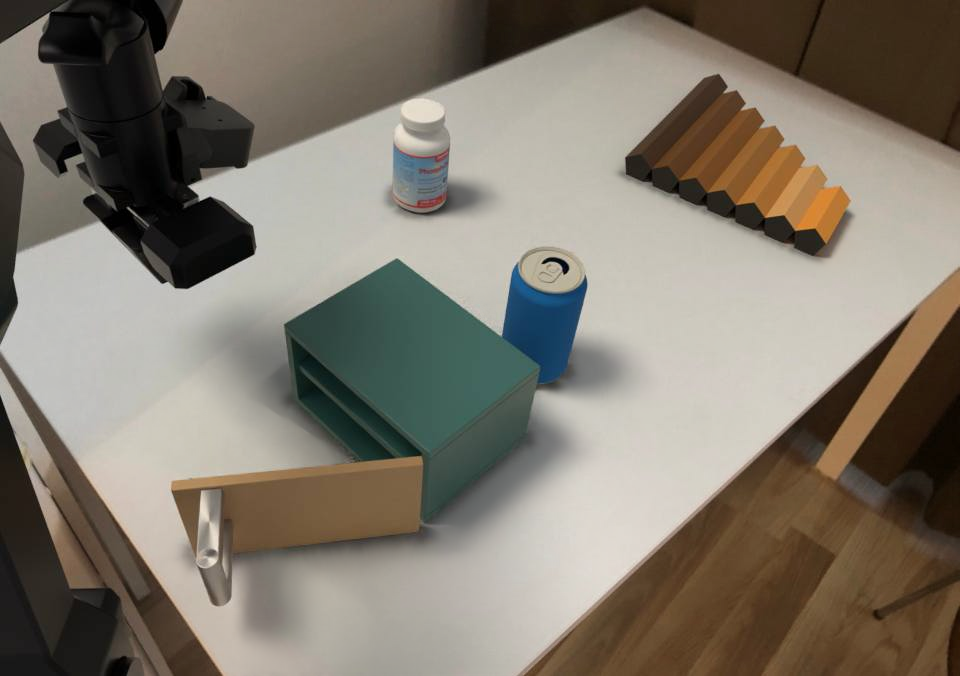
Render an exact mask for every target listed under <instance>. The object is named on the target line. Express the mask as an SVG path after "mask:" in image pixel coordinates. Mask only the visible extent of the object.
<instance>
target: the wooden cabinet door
mask: <svg viewBox="0 0 960 676" xmlns="http://www.w3.org/2000/svg"><path fill="white" fill-rule="evenodd" d="M422 476H423V460H422V456H416V457H406V458H396V459H386V460H376V461H366V462H359V461H355V462H346V463H337V464H336V463H335V464H327V465H316V466H307V467H306V466H305V467H297V468H287V469H275V470H267V471H266V470H265V471H257V472H255V471H254V472H247V473H237V474H235V473H234V474H226V475H216V476H207V477H196V478H185V479H177V480H176V479H175V480H172V481H171V484H170V486H171V487H170V493H171V495H172V497H173V500H174V503H175V505H176V508H177V511H178V513H179V516H180V518H181V523H182V525H183V527H184V530H185V533H186V536H187V538H188V541H189V543H190V546H191V549H192V553H193V555H194V557H195V563H196V567H197V570H198V572H199V574H200V577H201V580H202V582H203V585H204V588H205V591H206V594H207V597H208V599H209V602H210V603H211V604H212V605H213V606H215V607H223V606H225V605H228V603H229V602H230V601H231V599H232V594H233V593H232V592H233V562H234V561H233V560H234V559H233V558H234V554H239V553H240V554H241V553H247V552H256V551H264V550H274V549H281V548H290V547H291V548H292V547H298V546H307V545H316V544H324V543H325V544H326V543H333V542H341V541H349V540H359V539H368V538H374V537H385V536H394V535H400V534H410V533H418V532H419V531H420V523H421V522H420V521H421V519H420V508H421V492H422Z"/></svg>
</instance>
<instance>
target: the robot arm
mask: <svg viewBox="0 0 960 676" xmlns="http://www.w3.org/2000/svg"><path fill="white" fill-rule="evenodd" d="M183 1H184V0H0V45H1V44H3V43H4V42H5V41H7V40H8V39H10V38H12V37H14V36H15V35H17V34H18V33H19V32H21V31H23V30H25V29H26V28H28V27H29V26H31V25H32V24H34V23H36V22H38V21H39V20H40V19H42V18H44V17H45V16H46V15H48V18H47V19H46V20H45V22H44V23H43V25H42V27H41V32H42V34H41V36H40V38H39V40H38V43H37V45H38V46H37V58H38V60H39V62H40V63H41V64H45V65H52V67H53V69H54V72H55V75H56V79H57V81H58V84H59V88H60V90H61V93H62V96H63V99H64V102H65V105H66V107H63V108H60V109H57V114H58V118H57V119H53V120H51V121H49V122H46V123H42V124H41V125H40V126H39V128H38V130H37V132H36V133H35V135H34V137H33V139H32V143H33V145H34V148H35V151H36V153H37V156H38V159H39V161H40V163H41V164H42V165H43V166H45V168H46V169H48V171H49V172H51V173H52V174H53V175H54V176H55V177H56V178H57V179H60V178H63V177H65V176H67V174H68V173H69V169H68V167H67V164H66V160H69V159H71V158H74V157H76V156H79V155H82V157H83V159H84V160H83V161H82V162H80V163H77V164H75V167H76V170H77V174H78V176H79V178H80V179H81V180H82V181H83V182H84V184H86V185H87V186H88V187H89V188H90V191H91V194H89V195H87V196H85V197H84V198H83V199H82V204H83V206H84V208H86V209H87V210H88V211H89V212H90V213H91V214H92V215H93V216H94V217H95V218H96V219H97V220H98V221H99V222H100V223H101V224H102V225H103V227H104V228H106V229H107V231H108V232H109V233H110V234H112V236H113V237H114V238H115V239H116V240H117V241H118V242H119V243H120V244H121V245H122V246H123V247H124V248H126V250H127V251H128V252H129V253H130V254H131V255H132V256H133V257H134V258H135V259H136V260H137V261H138V262H139V263H140V264H141V265H142V266H143V267H144V269H146V270H147V271H148V273H150V274H151V275H152V276H153V278H154V279H156V281H158V282H159V283H160V284H161V285H165V284H166V283H168V284H170V285H171V286H172V287H173V288H174V289H177V290H189V289H191V288H193V287H195V286H197V285H199V284H200V283H203V282H205V281H206V280H208V279H211V278H213V277H214V276H216V275H218V274H220V273H222V272H224V271H226V270H228V269H230V268H231V267H233V266H235V265H238V264H239V263H242V262H243V261H246V260H247V259H249V258H251V257H253V256H255V255H256V250H257V242H256V234H255V229H254V225H253V224H251V222H249V221H248V220H247V219H245V218H244V217H243V215H241V214H239V213H238V212H237V211H236V210H235V209H233V208H232V207H231V206H230V205H228V203H226V202H225V201H223V200H220V199H217V198H216V197H213V196H207V197H206V198H203V199H201V200H200V196H199V194H198V193H197V192H195V191H194V190H193V189H192V188H191V187H190V186H191V185H193V184H195V183H198V182H201V181H202V180H203V176H202V172H201V169H202V170H203V169H206V170H207V169H221V168H232V167H234V168H235V169H237V170H239V169H245V168H246V167H248V165H249V161H250V160H249V159H250V155H251V149H252V144H253V137H254V134H255V133H254V131H255V124H254V123H253V122H252V121H251V120H250V119H249V118H247V117H246V116H244V115H243V114H242V113H240V112H239V111H237V110H236V109H235V108H233V107H232V106H231V105H229V104H227V103H226V102H223V101H220V100H217V99H216V98H215V97H213V96H212V95H207V96H206V94H205V90H204V88H203V87H202V85H200V84H199V83H198V82H196V81H195V80H194V79H192V78H191V77H189V76H187V75H186V76H185V75H172V76H171V77H170V78H169V80H168V81H167V83H166V85H165V86H164V88H163V86H162V82H161V78H160V72H159V68H158V63H157V59H156V54H158V52H161V51H163V50H164V47H165V46H166V44H167V41H168V39H169V36H170V34H171V31H172V29H173V26H174V25H175V22H176V20H177V17H178V15H179V12H180V9H181V7H182V5H183ZM24 184H25V169H24V164H23V162H22V160H21V157H20V156H19V154H18V152H17V150H16V149H15V146H14V145H13V143H12V141H11V139H10V137H9V135H8V133H7V131H6V129H5V128H4V126H3V124H2V123H1V121H0V346H1V345H2V342H3V340H4V338H5V335H6V333H7V331H8V329H9V327H10V325H11V322H12V320H13V318H14V315H15V313H16V311H17V309H18V305H19V297H18V292H17V289H16V288H17V287H16V284H15V279H14V276H15V270H16V262H17V253H18V242H19V232H20V222H21V215H22V214H21V213H22V203H23V193H24ZM19 445H20V444H19V443H18V440H17V437H16V434H15V432H14V429H13V426H12V423H11V421H10V418H9V414H8V413H7V409H6V406H5V404H4V401H3V399H2V395H1V394H0V676H146V675H145V670H144V665H143V662H142V660H141V657H139V656H135V651H134V647H133V644H132V642H131V640H130V638H131V636H132V633H133V629H132V628H131V627H130V626H129V625H128V624H127V621H126V618H125V614H124V609H123V605H122V600H121V597H120V596H119V595H118V594H117V592H115V590H114V589H113V588H112V587H74V588H72V587H70V584H69V581H68V578H67V576H66V573H65V570H64V567H63V564H62V562H61V560H60V556H59V553H58V551H57V548H56V545H55V542H54V541H53V540H54V539H53V537H52V533H51V532H50V529H49V526H48V523H47V521H46V518H45V515H44V511H43V508H42V507H41V504H40V501H39V498H38V495H37V493H36V490H35V487H34V484H33V482H32V479H31V476H30V473H29V470H28V468H27V465H26V462H25V459H24V456H23V454H22V452H21V451H22V450H21V449H20V446H19Z"/></svg>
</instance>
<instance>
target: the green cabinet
mask: <svg viewBox="0 0 960 676" xmlns="http://www.w3.org/2000/svg"><path fill="white" fill-rule="evenodd" d="M283 329H284V338H285V346H286V353H287V360H288V369H289V375H290V383H291V389H292V390H291V391H292V397H293V400H294V402H295V403H296V404H298V405H299V406H300V407H301V408H302V409H303V410H304V411H305V412H306V413H307V414H308V415H309V416H311V417H312V418H313V420H314V421H316V423H318V424H319V425H320V426H321V427H322V428H323V429H324V430H325V431H326V432H327V433H329V434H330V435H331V437H332V438H334V439H335V440H336V441H337V442H338V443H339V444H340V445H341V446H342V447H343V448H345V450H347V451H348V452H349V454H351V455H352V456H353V458H355V459H356V460H357V462H366V461H376V460H386V459H396V458H406V457H416V456H422V460H423V476H422V492H421V508H420V521H422V522H423V523H426V522H428V520H430V519H431V518H433V516H435V515H436V514H437V513H438V512H439V511H441V510H443V508H444V507H445V506H446V505H447V504H449V503H450V502H451V501H453V500H454V499H455V498H456V497H458V496H459V494H460V493H462V492H463V491H464V490H465V489H467V488H468V487H469V486H470V485H471V484H473V482H475V481H476V480H477V479H478V478H480V477H481V476H482V475H483V474H484V473H486V472H487V471H488V470H489V469H491V467H493V466H494V465H495V464H496V463H498V462H499V461H500V460H501V459H502V458H503V457H504V456H505V455H507V454H508V453H509V452H510V451H512V450H513V449H515V447H516V446H517V445H519V444H520V443H521V442H522V441H524V439H526V435H527V431H528V426H529V421H530V418H531V412H532V407H533V404H534V400H535V399H534V398H535V394H536V389H537V385H538V384H537V381H538V377H539V372H540V365H538V364H537V363H536V362H534V361H533V360H532V359H530V358H529V357H528V356H526V355H525V354H524V353H522V352H521V351H520V350H518V349H517V348H516V347H514V346H513V345H512V344H510V343H509V342H508V341H506V340H505V339H504V338H502V335H500V334H499V333H497V332H496V331H494V330H493V329H492V328H490V327H489V326H488V325H486V324H485V323H484V322H483V321H481V320H480V319H479V318H478V317H476V316H475V315H473V314H472V313H471V312H469V311H468V310H467V309H465V308H464V307H463V306H461V305H460V304H459V303H458V302H456V301H455V300H453V299H452V298H451V297H450V296H448V295H447V294H446V293H444V292H443V291H442V290H440V289H439V288H438V287H437V286H435V285H434V284H432V283H431V282H429V281H428V280H427V279H426V278H424V277H423V276H422V275H420V274H419V273H417V272H416V271H415V270H414V269H413V268H411V267H410V266H408V265H407V264H406V263H404V262H403V261H402V260H401V259H399V257H396V258H394V259H393V260H391V261H389V262H387V263H386V264H384V265H383V266H381V267H379V268H377V269H376V270H374V271H371V272H370V273H369V274H367V275H365V276H364V277H362V278H360V279H359V280H357V281H355V282H353V283H352V284H350V285H348V286H346V287H345V288H342V289H341V290H339V291H338V292H336V293H335V294H333V295H331V296H329V297H327V298H326V299H324V300H322V301H321V302H319V303H317V304H316V305H315V306H313V307H311V308H309V309H307V310H306V311H303V312H302V313H299V315H297V316H295V317H293V318H291V319H290V320H288V321H287V322H285V323H283Z"/></svg>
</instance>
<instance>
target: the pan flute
mask: <svg viewBox="0 0 960 676" xmlns="http://www.w3.org/2000/svg"><path fill="white" fill-rule="evenodd" d="M728 88H729V86H728V84H727V82H726V81H725V80H724V78H723V77H722V75H721V74H720V73H716V74H712V75H709V76H705V77H704V78H702V79H701V80H700V81H699V82H698V83H697V84H696V85H695V86H694V87H693V88H692V89H691V90H690V91H689V93H687V95H685V97H683V98H682V100H680V101H679V103H678V104H676V105H675V106H674V107H673V109H671V111H669V113H668V114H666V115H665V116H664V117H663V118H662V119H661V120H660V121H659V123H658V124H657V125H656V126H655V127H653V128H652V130H651V131H650V132H649V133H648V134H647V135H646V136H645V137H644V138H642V140H640V142H639V143H638V144H637V145H636V146H635V147H634V148H633V149H632V150H631V151H630V152H629V153H627V155H626V156H625V157H624V162H625V175H627V176H630V177H632V178H634V179H637V180H639V181H641V182H643V181H644V180H645V179H647V177H648V176H649V175H650V174H651V184H652V187H655V188H657V189H659V190H662V191H663V192H666V193H668V194H670V192H671V191H673V189H674V188H675V187H676V186H677V185H678V194H679V195H678V196H679V198H680V199H682V200H684V201H687V202H689V203H691V204H693V205H695V206H696V205H698V204H699V203H700V201H701V200H702V199H703V198H704V197H705V196H706V210H707V211H709V212H712V213H714V214H716V215H719V216H721V217H723V218H725V217H726V216H727V215H728V214H729V213H730V212H731V211H732V210H733V208H735V214H734V215H735V216H734V221H735V223H737V224H739V225H742V226H744V227H746V228H749V229H751V230H754V229H755V228H757V226H759V225H760V224H761V223H762V222H763V220H764V235H765V236H767V237H769V238H770V239H774V240H775V241H778V242H781V243H784V242H785V241H786V240H787V239H788V238H789V237H791V236H792V234H793V233H794V242H793V244H794V246H793V248H794V249H796V250H799V251H801V252H803V253H806V254H808V255H809V256H813V257H814V255H816V254H817V253H818V252H819V251H821V249H823V248H824V247H825V246H826V245H827V243H828V242H829V240H830V239H831V237H832V236H833V233H834V231H835V230H836V228H837V226H838V225H839V223H840V221H841V219H842V217H843V215H844V214H845V212H846V210H847V208H848V207H849V205H850V203H851V202H852V200H851V199H850V198H849V195H848V194H847V193H846V191H845V190H844V188H843V187H842V185H836V186H830V187H825V188H824V186H825V184H826V182H827V181H828V178H827V176H826V175H825V173H824V172H823V170H822V169H821V167H820V165H819V164H813V165H808V166H803V167H801V166H802V165H803V163H804V162H805V160H806V157H805V155H804V154H803V153H802V151H801V150H800V148H799V147H798V146H797V144H790V145H786V146H781V145H782V144H783V142H784V141H785V139H786V138H784V135H782V133H781V132H780V131H779V129H778V127H777V126H776V125H771V126H766V127H761V126H762V125H763V124H764V123H765V118H764V117H763V115H761V113H760V112H759V111H758V108H756V107H750V108H746V109H743V108H744V107H745V105H746V104H747V102H746V101H745V100H744V98H743V97H742V95H741V94H740V92H739V91H738V90H737V89H735V90H731V91H727V92H726V90H727V89H728ZM780 146H781V147H780Z"/></svg>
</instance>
